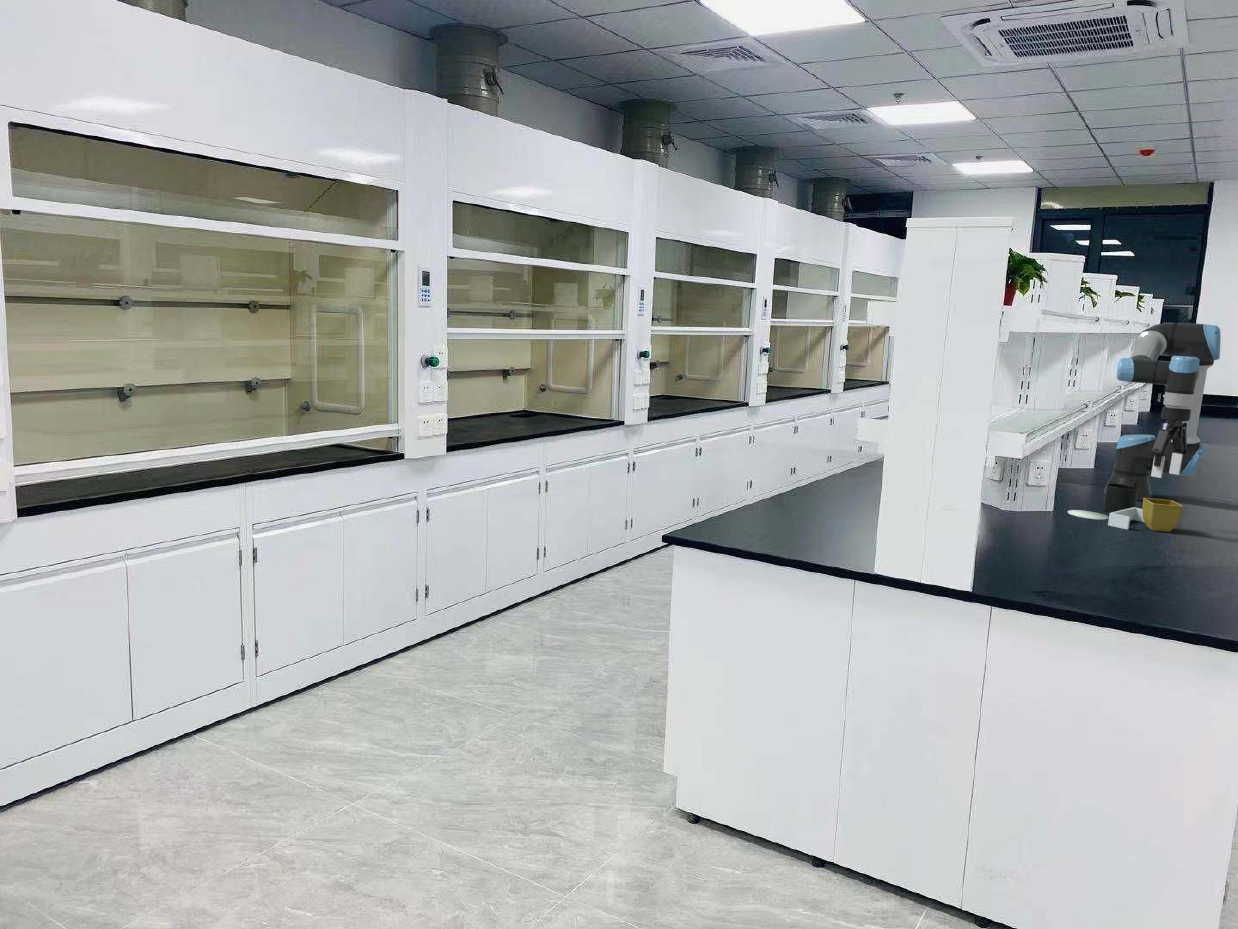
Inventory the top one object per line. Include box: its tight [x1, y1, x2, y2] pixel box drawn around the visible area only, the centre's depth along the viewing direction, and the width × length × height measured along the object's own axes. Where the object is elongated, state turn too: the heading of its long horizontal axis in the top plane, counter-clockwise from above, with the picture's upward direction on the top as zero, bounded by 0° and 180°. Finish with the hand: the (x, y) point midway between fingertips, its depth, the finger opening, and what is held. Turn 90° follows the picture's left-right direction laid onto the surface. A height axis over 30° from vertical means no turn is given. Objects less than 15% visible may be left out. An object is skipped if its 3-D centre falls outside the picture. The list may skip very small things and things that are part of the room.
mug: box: [1102, 484, 1139, 514], centre depth 300 cm, size 9×12×9 cm
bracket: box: [1107, 507, 1145, 530], centre depth 283 cm, size 18×6×4 cm, turn 129°
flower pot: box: [1142, 497, 1184, 533], centre depth 277 cm, size 9×9×9 cm
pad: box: [1067, 509, 1109, 521], centre depth 293 cm, size 12×12×1 cm
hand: (1165, 475), depth 275 cm, fingers open, 13 cm apart
